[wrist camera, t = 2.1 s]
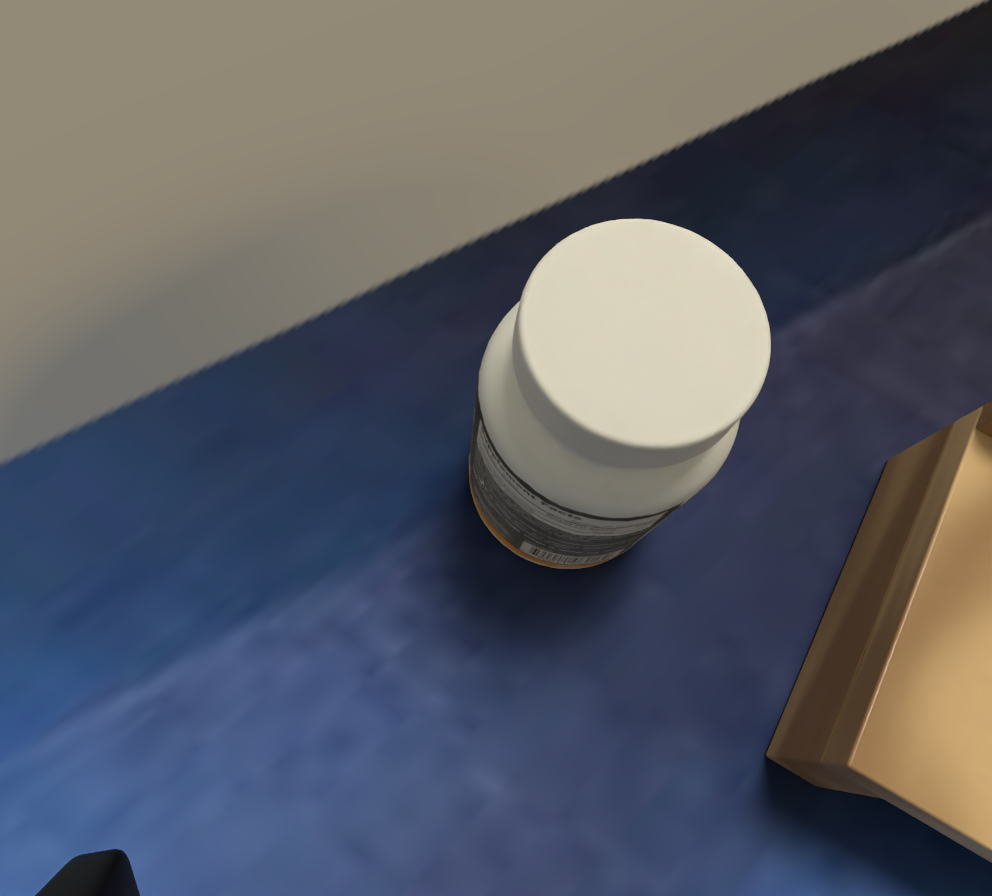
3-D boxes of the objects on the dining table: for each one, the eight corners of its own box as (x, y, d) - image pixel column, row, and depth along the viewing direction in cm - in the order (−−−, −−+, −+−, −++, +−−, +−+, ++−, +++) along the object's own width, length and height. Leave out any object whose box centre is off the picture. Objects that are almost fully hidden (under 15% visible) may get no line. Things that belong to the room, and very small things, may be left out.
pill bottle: (551, 358, 25) (623, 139, 15) (692, 477, 24) (861, 321, 14) (426, 483, 23) (422, 324, 14) (573, 617, 22) (676, 544, 13)
